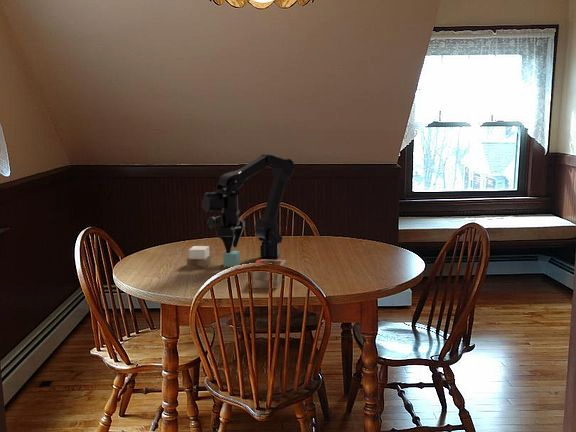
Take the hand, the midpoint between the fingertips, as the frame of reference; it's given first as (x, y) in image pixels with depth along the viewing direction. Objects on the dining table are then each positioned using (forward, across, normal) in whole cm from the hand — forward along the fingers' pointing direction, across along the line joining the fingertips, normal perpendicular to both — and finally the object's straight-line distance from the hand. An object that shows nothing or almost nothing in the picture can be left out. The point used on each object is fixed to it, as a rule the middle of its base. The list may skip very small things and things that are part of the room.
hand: (231, 250), depth 223 cm
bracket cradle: (+6, +19, +18) cm, 27 cm away
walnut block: (+6, +2, -12) cm, 14 cm away
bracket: (+6, +19, +17) cm, 26 cm away
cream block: (+3, +2, -12) cm, 13 cm away
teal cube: (+6, 0, 0) cm, 6 cm away
